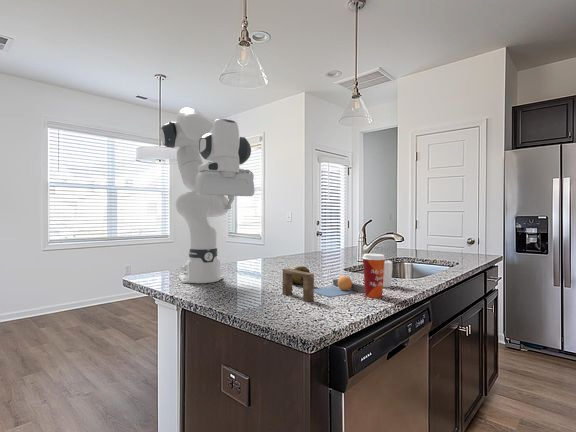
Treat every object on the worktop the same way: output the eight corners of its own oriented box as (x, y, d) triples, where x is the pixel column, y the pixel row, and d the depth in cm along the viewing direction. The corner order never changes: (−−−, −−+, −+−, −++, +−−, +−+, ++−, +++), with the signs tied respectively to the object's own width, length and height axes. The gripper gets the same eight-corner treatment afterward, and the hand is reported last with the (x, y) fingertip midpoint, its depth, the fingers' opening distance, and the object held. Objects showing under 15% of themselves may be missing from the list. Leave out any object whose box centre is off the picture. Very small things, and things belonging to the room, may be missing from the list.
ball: (335, 275, 134) (345, 273, 136) (334, 289, 134) (344, 287, 137) (344, 279, 129) (355, 277, 132) (343, 293, 129) (354, 291, 132)
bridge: (306, 302, 115) (307, 274, 115) (282, 293, 127) (282, 269, 127) (313, 300, 117) (313, 273, 117) (289, 292, 128) (289, 268, 128)
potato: (303, 281, 152) (303, 263, 152) (312, 287, 139) (312, 267, 139) (285, 281, 150) (285, 263, 150) (292, 288, 137) (292, 268, 137)
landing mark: (307, 290, 132) (307, 290, 132) (332, 286, 140) (332, 286, 140) (329, 297, 122) (329, 296, 122) (355, 292, 129) (355, 292, 129)
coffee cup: (375, 299, 118) (375, 256, 118) (357, 295, 125) (357, 254, 125) (390, 296, 123) (390, 254, 123) (372, 292, 130) (372, 252, 130)
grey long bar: (333, 285, 142) (333, 279, 142) (336, 284, 144) (336, 278, 144) (366, 293, 128) (366, 286, 128) (369, 292, 129) (369, 286, 129)
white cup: (385, 288, 137) (385, 263, 137) (368, 285, 143) (368, 261, 142) (396, 286, 142) (396, 261, 142) (379, 283, 148) (379, 259, 148)
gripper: (249, 171, 123) (248, 209, 123) (193, 166, 111) (193, 208, 111) (257, 169, 118) (257, 209, 118) (200, 163, 106) (200, 208, 106)
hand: (225, 209), depth 114 cm, fingers closed
